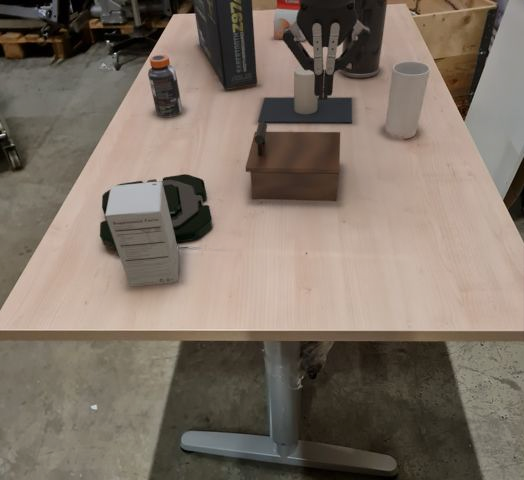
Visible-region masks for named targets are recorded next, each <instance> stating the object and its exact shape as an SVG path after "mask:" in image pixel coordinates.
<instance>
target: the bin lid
mask: <svg viewBox="0 0 524 480" xmlns="http://www.w3.org/2000/svg"><path fill="white" fill-rule="evenodd" d="M267 130H268V123H265V122H263V121H261V122H259V123H258V124H257V127H256V130H255V131H254V134H253V137H252V141H251V145H250V148H249V153H248V156H247V160H246V164H245V172H246V173H251V172H287V173H339V174H340V165H341V164H340V163H341V162H340V161H341V159H340V157H341V131H267Z"/></svg>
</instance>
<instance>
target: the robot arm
mask: <svg viewBox="0 0 524 480" xmlns="http://www.w3.org/2000/svg"><path fill="white" fill-rule="evenodd" d="M387 6H388V0H300V9H299V11H298V13H297V17H296V21H295V22H294V23H293V24H292V25H291V26H290V27H286V28H285V29H284V32H283V39H282V40H283V42H284V43H285V45H286V47H287V48H288V49H289V51H290V52H291V54H292V55H293V56H294V58H295V59H296V60H297V62H298V63H299V65H300V66H302V68H303V69H304V70H310V71H312V72H313V73H314V75H315V81H314V93H315V96H318V100H328V98H329V97H331V96H332V94H333V90H334V75H335V74H336V72H338V71H340V73H341V74H342V75H343V76H345V77H348V78H352V79H367V78H371V77H372V78H373V77H374V76H376V75H378V74H379V72H380V62H381V55H382V48H383V46H382V45H383V38H384V31H385V23H386V17H387V16H386V15H387ZM299 29H300V30H301V32H302V33H303V35H304V36H305V38H306V40H305V41H307V43H308V44H309V45H310V46H311V47H312V51H313V57H311V56H310V54H309V52H308V51H307V49H306V48H305V46H304V45H303V44H302V41H299V39H300V33H299ZM341 45H342V51H341V54H340V55H339V56H338V57H337V49H338V47H339V46H341ZM324 48H327V53H326V54H327V55H326V63H325V69H324Z"/></svg>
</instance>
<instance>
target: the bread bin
mask: <svg viewBox="0 0 524 480" xmlns="http://www.w3.org/2000/svg"><path fill="white" fill-rule="evenodd" d="M339 180H340V172H339V173H287V172H250V185H251V196H252V197H251V198H252V200H275V201H277V200H279V201H280V200H281V201H319V202H323V201H325V202H337V201H338V190H339Z"/></svg>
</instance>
